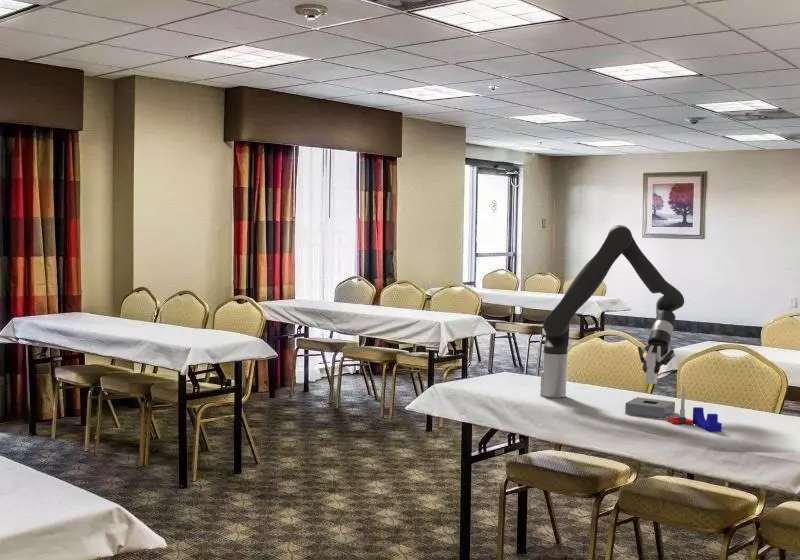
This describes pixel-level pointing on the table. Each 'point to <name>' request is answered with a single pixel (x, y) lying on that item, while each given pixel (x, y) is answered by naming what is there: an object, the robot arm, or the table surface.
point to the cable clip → (710, 422)
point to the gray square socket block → (650, 407)
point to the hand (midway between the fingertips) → (650, 371)
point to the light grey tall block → (651, 368)
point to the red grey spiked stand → (681, 413)
